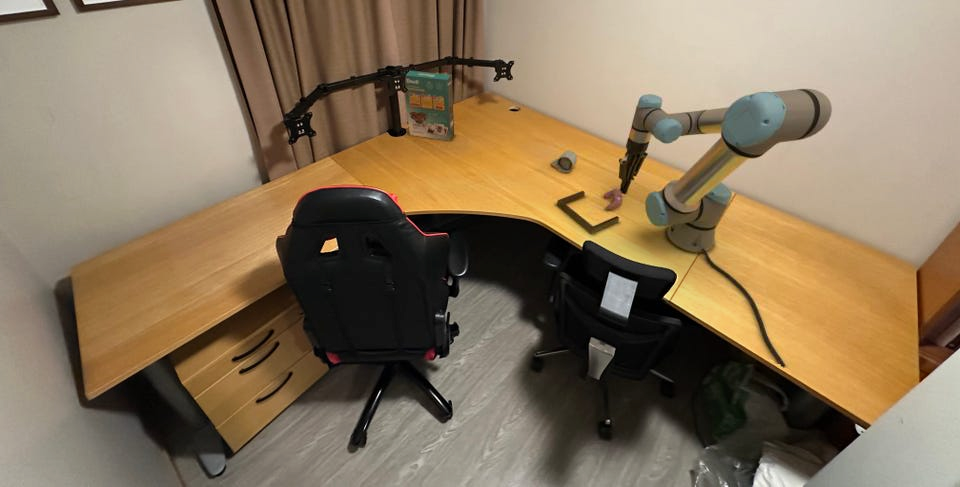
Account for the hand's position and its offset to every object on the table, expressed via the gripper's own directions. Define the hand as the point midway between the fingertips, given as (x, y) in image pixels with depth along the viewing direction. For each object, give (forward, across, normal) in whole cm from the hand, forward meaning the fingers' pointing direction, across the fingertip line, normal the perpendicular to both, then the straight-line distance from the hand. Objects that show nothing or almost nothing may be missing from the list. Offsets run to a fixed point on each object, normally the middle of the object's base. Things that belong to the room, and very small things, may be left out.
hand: (622, 192), depth 159 cm
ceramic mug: (+4, +5, -31) cm, 31 cm away
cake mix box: (+4, +44, -88) cm, 99 cm away
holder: (+3, +18, 0) cm, 18 cm away
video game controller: (+4, +5, 0) cm, 7 cm away
